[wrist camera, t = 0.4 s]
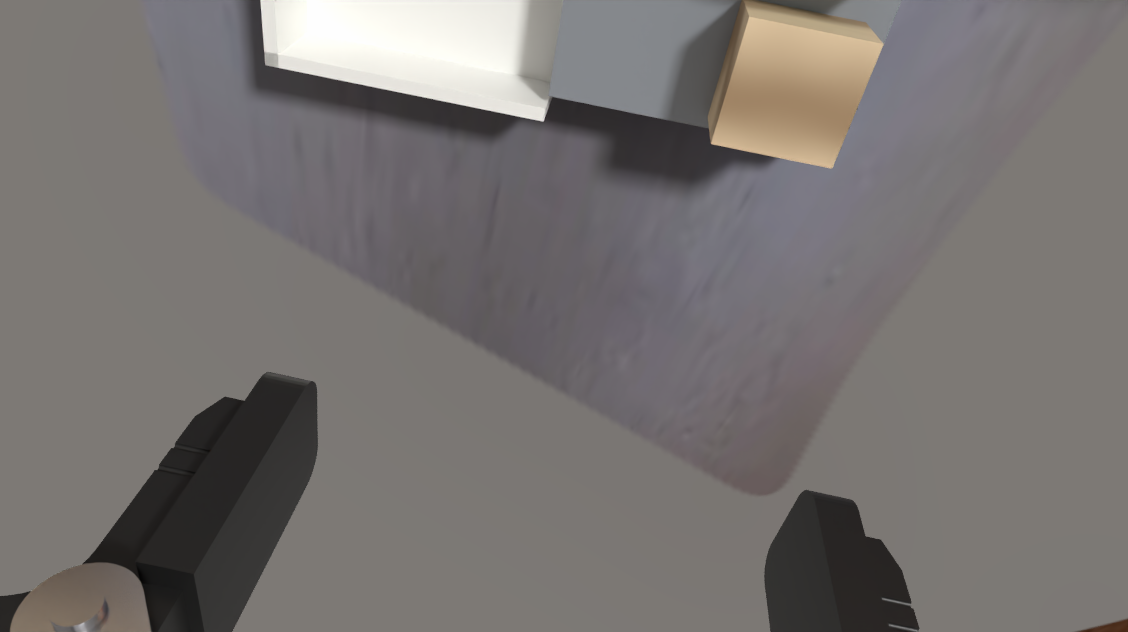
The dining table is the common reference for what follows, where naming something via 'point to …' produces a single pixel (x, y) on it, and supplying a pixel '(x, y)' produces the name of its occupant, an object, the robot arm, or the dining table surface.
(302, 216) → the dining table surface
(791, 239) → the dining table surface
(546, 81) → the tray
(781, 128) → the thick tan wooden block
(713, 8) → the board
